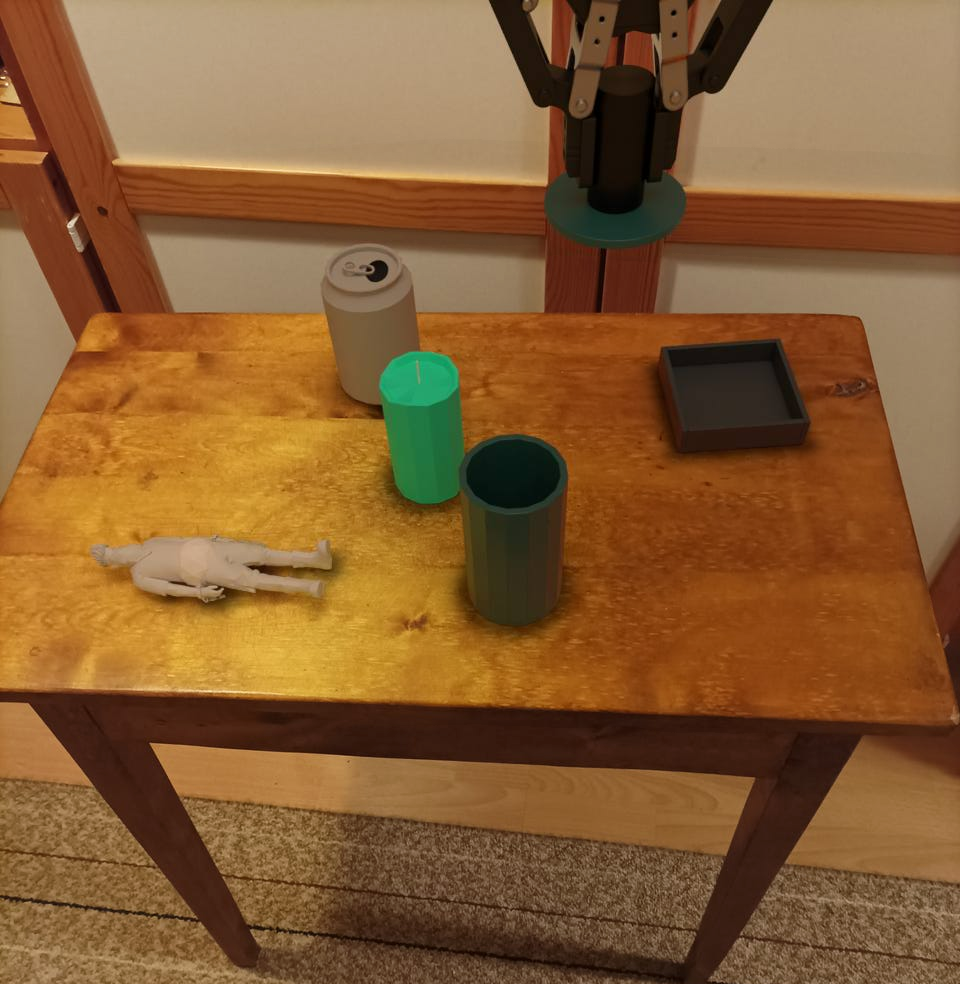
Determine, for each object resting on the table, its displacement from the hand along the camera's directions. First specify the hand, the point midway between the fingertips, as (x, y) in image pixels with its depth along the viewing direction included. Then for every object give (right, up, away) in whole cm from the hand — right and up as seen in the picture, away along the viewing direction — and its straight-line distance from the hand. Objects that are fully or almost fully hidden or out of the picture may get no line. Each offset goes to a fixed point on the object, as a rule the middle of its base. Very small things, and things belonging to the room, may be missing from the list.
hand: (617, 175), depth 48 cm
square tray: (+14, -4, +31) cm, 35 cm away
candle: (-11, -11, +28) cm, 32 cm away
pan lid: (0, -1, +1) cm, 2 cm away
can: (-16, -1, +35) cm, 38 cm away
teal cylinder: (-5, -20, +21) cm, 30 cm away
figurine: (-28, -20, +23) cm, 41 cm away
